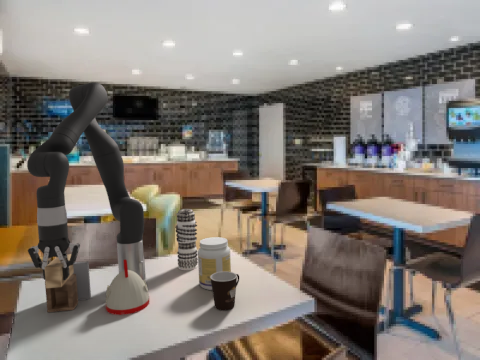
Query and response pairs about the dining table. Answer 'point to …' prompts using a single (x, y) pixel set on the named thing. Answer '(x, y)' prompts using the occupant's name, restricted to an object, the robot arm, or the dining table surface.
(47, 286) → the tan wooden bar
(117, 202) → the robot arm
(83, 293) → the wall
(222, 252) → the supplement tub
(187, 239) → the decorative candle
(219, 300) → the coffee mug
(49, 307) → the block
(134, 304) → the cream dome
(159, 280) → the dining table surface
